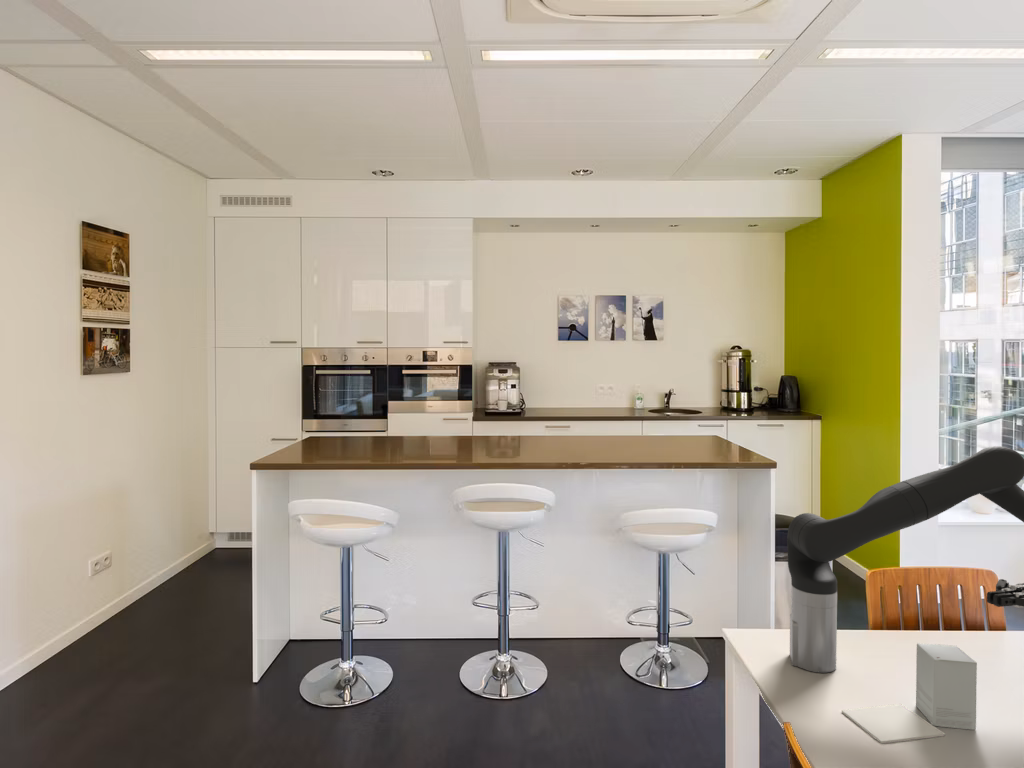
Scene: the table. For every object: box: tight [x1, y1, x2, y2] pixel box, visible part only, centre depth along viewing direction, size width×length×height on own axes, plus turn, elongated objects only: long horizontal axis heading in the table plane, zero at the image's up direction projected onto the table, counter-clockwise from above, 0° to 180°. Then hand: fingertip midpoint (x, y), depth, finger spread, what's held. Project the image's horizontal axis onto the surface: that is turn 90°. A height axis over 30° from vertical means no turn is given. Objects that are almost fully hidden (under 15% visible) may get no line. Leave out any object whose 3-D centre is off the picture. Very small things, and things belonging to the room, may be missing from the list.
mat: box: [841, 703, 946, 744], centre depth 114 cm, size 13×10×1 cm
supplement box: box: [915, 642, 978, 731], centre depth 116 cm, size 7×7×13 cm
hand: (992, 599), depth 117 cm, fingers closed
